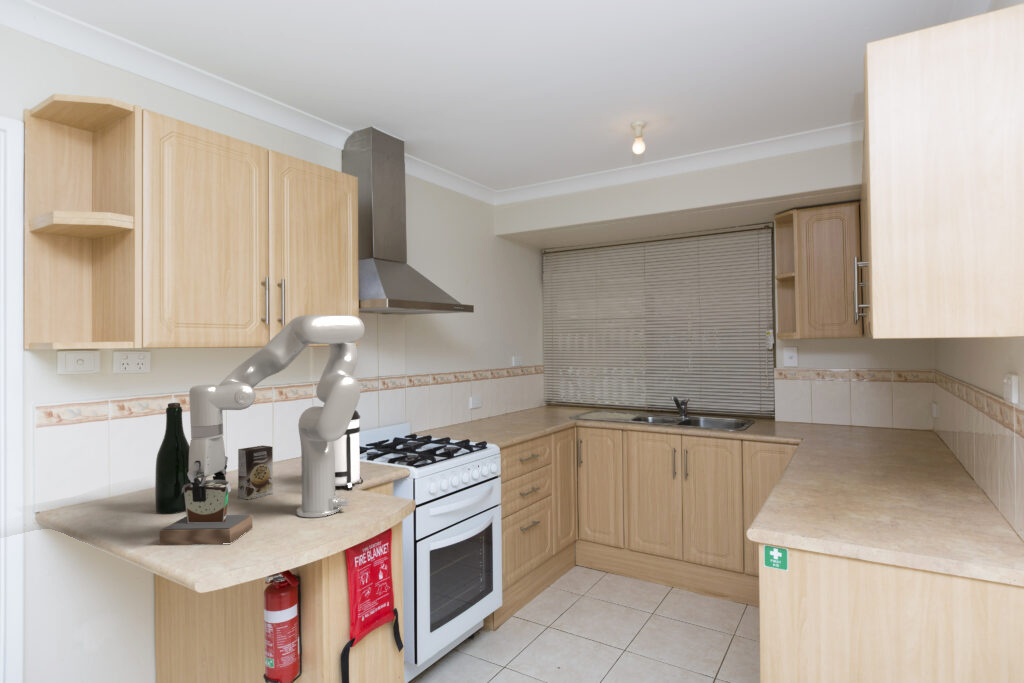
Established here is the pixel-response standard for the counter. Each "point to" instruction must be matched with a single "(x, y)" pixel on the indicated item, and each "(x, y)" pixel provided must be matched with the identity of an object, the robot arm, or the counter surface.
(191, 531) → the plinth
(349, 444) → the coffee press
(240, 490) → the coffee box
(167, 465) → the beer bottle
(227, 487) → the food container
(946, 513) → the counter surface
